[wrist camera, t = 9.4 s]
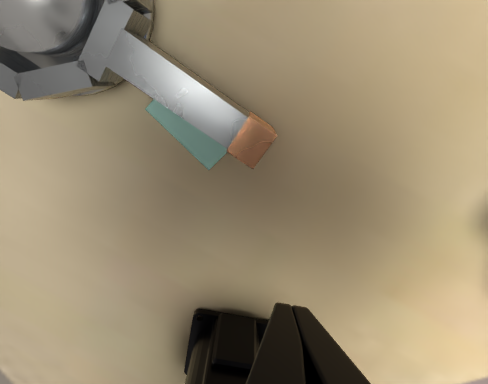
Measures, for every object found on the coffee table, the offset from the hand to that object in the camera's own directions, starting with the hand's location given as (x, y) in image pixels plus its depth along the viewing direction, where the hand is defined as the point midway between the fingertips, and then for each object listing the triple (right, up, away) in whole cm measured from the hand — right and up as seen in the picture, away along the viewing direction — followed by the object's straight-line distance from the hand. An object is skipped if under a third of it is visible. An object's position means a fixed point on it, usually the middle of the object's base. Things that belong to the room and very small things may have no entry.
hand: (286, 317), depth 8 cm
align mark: (-4, +7, +10) cm, 13 cm away
